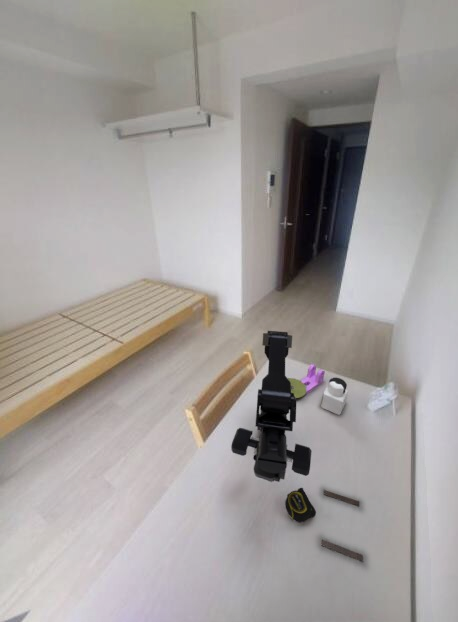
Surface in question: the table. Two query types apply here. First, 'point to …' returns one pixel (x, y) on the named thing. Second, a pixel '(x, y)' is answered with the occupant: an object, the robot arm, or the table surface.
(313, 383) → the bracket
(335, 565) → the table surface
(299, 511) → the tape measure
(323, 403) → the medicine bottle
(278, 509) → the table surface
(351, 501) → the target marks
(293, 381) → the olive green disc
